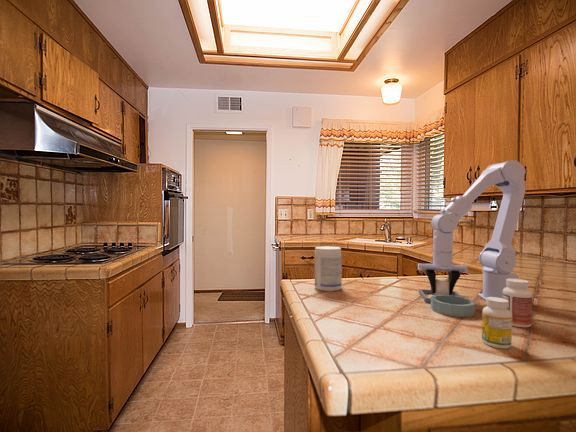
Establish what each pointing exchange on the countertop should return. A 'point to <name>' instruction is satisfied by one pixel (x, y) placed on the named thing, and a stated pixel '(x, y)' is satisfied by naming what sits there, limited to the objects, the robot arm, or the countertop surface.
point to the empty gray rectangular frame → (432, 293)
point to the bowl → (453, 305)
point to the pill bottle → (519, 301)
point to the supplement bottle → (497, 323)
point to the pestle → (442, 287)
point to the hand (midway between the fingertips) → (441, 293)
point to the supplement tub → (328, 268)
